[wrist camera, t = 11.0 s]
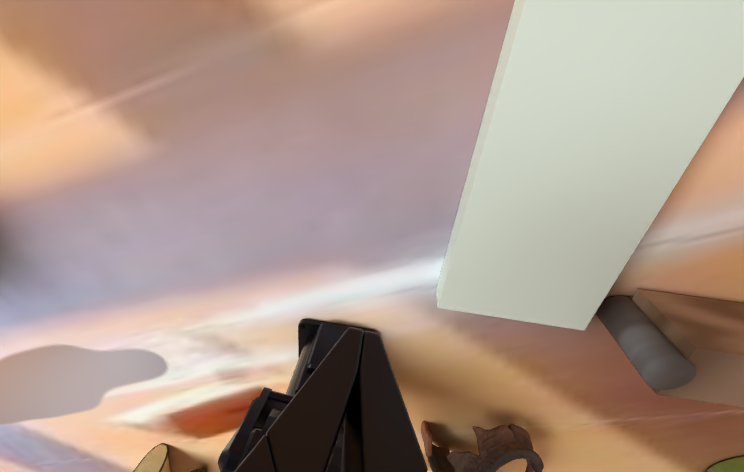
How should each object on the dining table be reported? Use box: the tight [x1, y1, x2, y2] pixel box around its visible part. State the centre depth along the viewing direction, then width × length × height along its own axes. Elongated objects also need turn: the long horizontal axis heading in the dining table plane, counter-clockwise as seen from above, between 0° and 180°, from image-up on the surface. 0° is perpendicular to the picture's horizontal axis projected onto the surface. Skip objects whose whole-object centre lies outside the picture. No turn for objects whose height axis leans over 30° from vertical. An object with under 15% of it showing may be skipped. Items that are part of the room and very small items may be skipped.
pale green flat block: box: [436, 0, 744, 331], centre depth 17 cm, size 20×10×2 cm, turn 174°
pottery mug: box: [421, 421, 544, 472], centre depth 30 cm, size 12×10×8 cm
